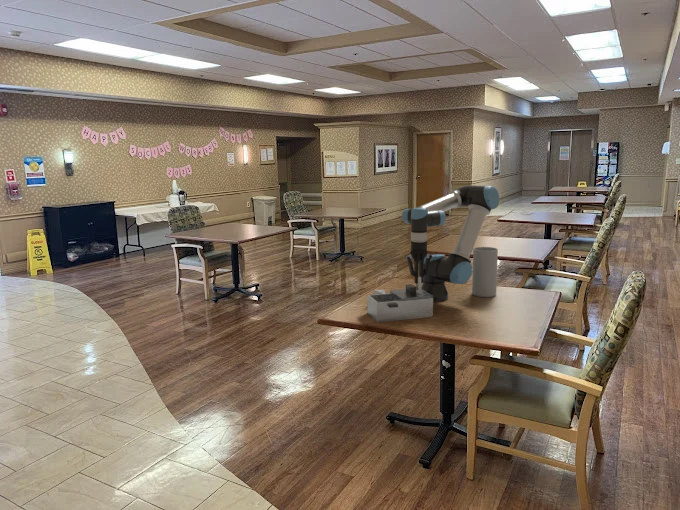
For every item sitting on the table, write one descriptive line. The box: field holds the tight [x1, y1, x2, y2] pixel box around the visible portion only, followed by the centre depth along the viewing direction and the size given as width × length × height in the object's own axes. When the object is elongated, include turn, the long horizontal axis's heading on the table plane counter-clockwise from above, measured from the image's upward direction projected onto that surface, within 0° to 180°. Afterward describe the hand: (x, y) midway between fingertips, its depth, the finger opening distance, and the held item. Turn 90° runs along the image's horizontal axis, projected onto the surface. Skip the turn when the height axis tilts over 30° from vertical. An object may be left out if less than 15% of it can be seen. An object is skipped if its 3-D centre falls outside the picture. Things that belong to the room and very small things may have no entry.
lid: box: [389, 283, 433, 301], centre depth 247 cm, size 16×16×4 cm
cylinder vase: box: [471, 246, 499, 298], centre depth 277 cm, size 12×12×25 cm
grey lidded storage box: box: [366, 292, 434, 323], centre depth 247 cm, size 28×19×9 cm
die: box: [371, 289, 387, 295], centre depth 263 cm, size 8×9×10 cm
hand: (418, 289), depth 248 cm, fingers closed
